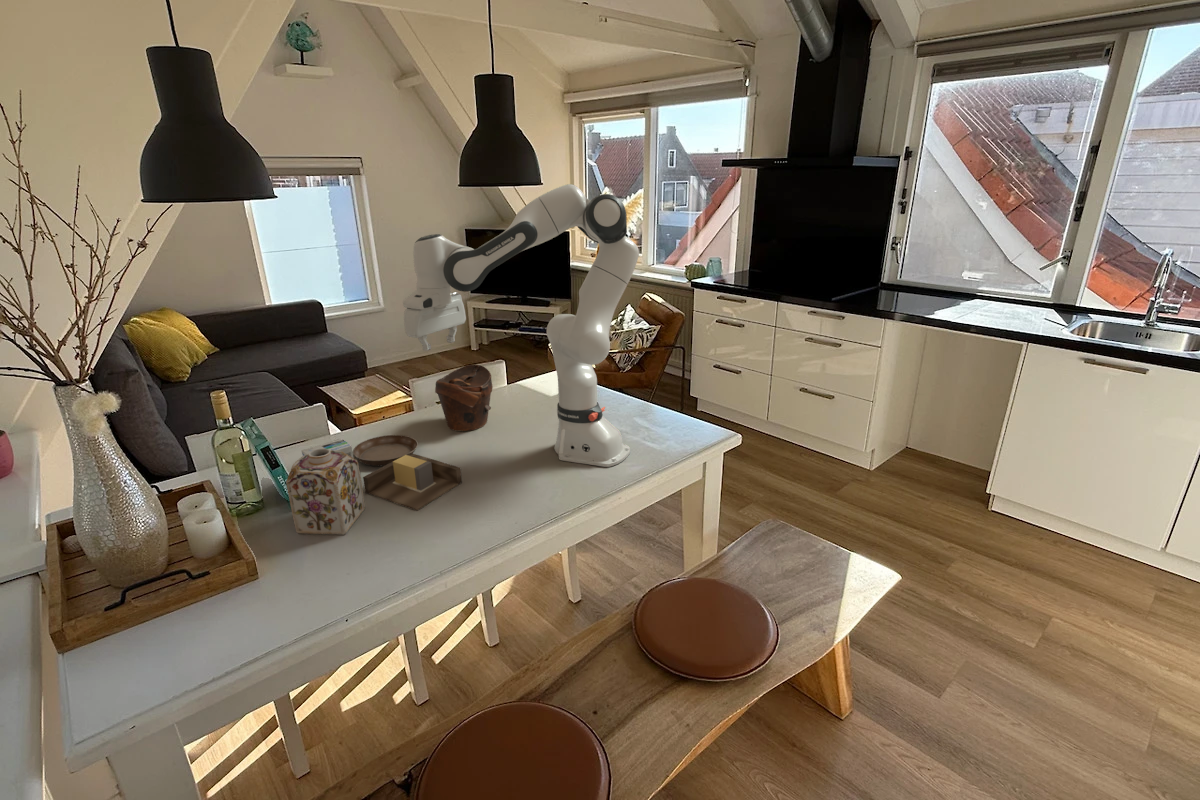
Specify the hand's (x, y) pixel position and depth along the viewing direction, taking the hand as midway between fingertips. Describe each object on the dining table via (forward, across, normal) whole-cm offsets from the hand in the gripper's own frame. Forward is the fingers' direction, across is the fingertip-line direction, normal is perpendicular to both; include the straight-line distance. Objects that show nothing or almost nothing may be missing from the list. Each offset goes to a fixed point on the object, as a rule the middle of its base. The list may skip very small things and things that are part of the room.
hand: (439, 346), depth 167 cm
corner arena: (+31, +23, +9) cm, 40 cm away
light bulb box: (+32, +32, -11) cm, 46 cm away
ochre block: (+30, +22, +8) cm, 38 cm away
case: (+31, -16, -7) cm, 36 cm away
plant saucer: (+32, +13, -12) cm, 36 cm away
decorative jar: (+31, +44, +4) cm, 54 cm away
